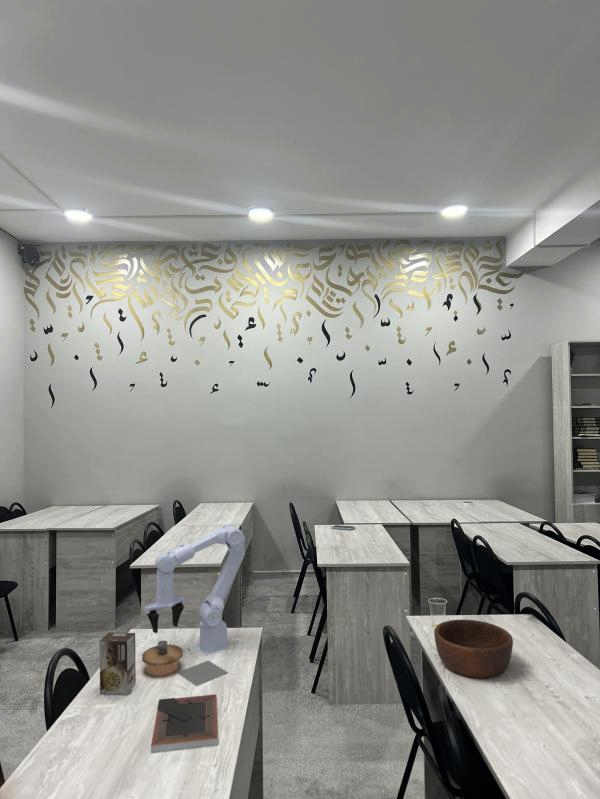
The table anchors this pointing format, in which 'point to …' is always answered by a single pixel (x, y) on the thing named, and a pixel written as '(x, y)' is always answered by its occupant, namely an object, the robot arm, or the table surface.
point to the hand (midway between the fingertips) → (165, 628)
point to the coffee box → (117, 663)
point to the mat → (202, 673)
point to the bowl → (161, 669)
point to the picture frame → (185, 723)
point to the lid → (162, 654)
